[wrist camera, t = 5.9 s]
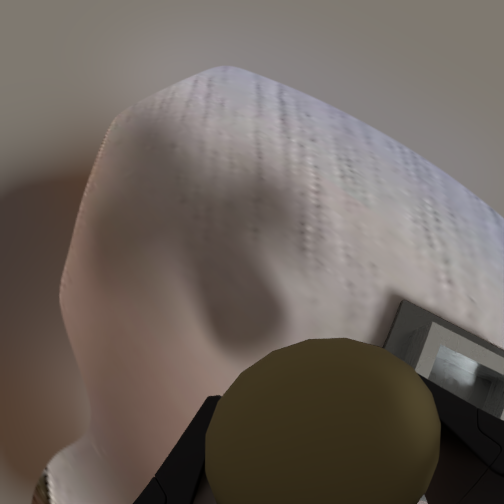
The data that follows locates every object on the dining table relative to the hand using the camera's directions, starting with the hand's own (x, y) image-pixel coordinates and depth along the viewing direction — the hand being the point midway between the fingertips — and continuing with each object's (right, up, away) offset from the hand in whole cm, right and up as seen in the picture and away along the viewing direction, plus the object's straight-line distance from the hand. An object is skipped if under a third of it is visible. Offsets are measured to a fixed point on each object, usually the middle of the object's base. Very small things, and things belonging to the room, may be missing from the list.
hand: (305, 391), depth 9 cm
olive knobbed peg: (+1, -4, +6) cm, 7 cm away
